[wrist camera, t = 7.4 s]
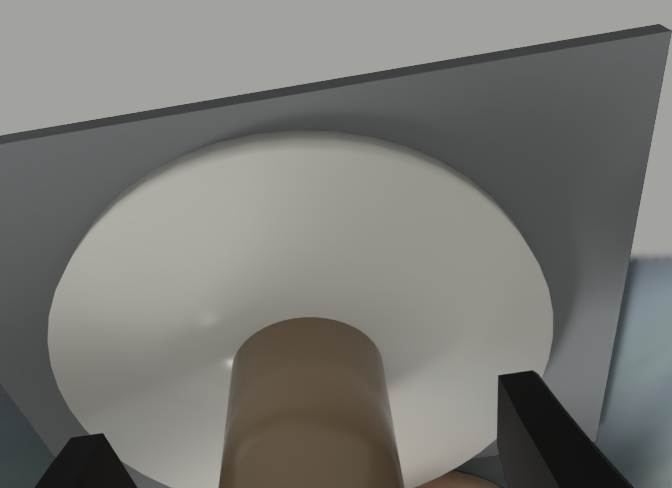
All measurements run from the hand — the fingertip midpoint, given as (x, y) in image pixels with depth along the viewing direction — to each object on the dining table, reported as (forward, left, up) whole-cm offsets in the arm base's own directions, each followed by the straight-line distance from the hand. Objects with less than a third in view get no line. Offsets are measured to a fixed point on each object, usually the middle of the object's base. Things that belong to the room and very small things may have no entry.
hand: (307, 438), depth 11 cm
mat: (0, 0, -3) cm, 3 cm away
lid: (0, 0, -3) cm, 3 cm away
